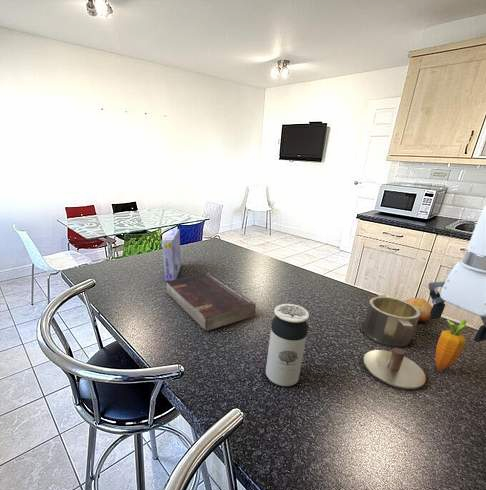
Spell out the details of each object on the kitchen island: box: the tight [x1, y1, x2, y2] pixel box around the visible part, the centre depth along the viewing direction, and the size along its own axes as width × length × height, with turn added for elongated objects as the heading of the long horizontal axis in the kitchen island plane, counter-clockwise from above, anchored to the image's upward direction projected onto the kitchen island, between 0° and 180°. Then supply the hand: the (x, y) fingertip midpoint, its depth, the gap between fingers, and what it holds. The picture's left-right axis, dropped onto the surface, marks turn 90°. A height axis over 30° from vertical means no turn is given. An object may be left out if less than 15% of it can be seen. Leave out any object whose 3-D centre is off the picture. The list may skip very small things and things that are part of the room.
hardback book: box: [165, 272, 257, 332], centre depth 102 cm, size 29×19×5 cm, turn 32°
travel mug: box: [265, 303, 310, 387], centre depth 68 cm, size 8×8×18 cm
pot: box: [362, 294, 420, 348], centre depth 87 cm, size 13×18×10 cm
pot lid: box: [362, 347, 427, 390], centre depth 73 cm, size 14×14×6 cm
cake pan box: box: [161, 228, 182, 281], centre depth 125 cm, size 19×5×18 cm, turn 178°
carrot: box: [434, 318, 468, 372], centre depth 71 cm, size 5×5×15 cm
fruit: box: [404, 297, 433, 323], centre depth 96 cm, size 8×8×8 cm
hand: (455, 328), depth 69 cm, fingers open, 9 cm apart
